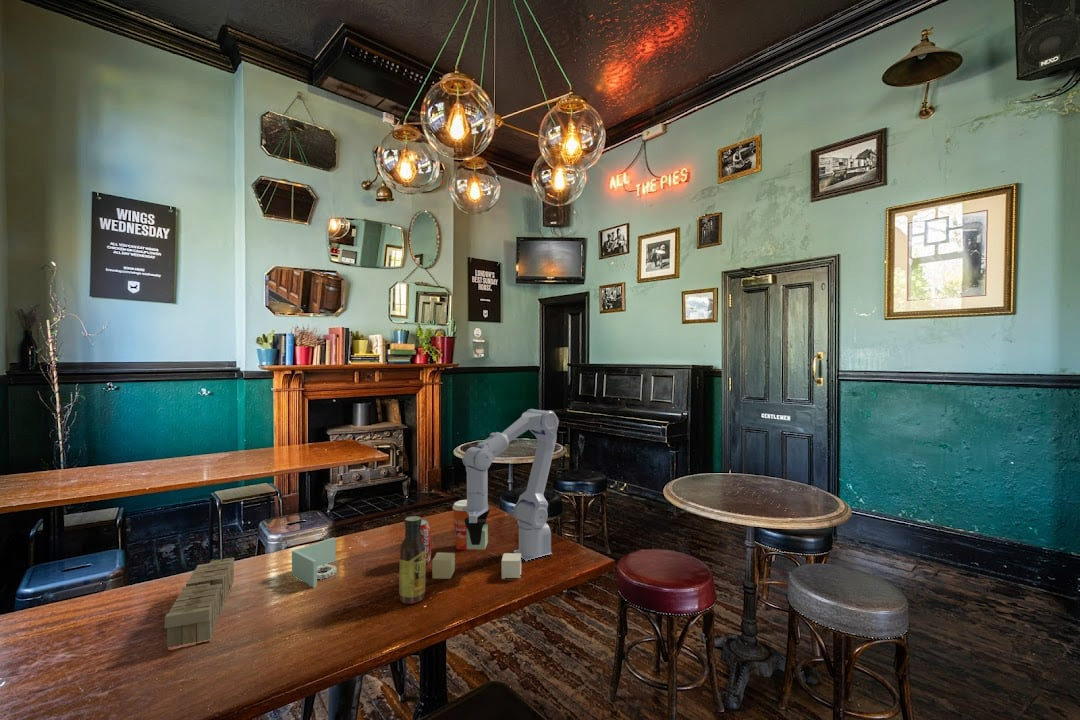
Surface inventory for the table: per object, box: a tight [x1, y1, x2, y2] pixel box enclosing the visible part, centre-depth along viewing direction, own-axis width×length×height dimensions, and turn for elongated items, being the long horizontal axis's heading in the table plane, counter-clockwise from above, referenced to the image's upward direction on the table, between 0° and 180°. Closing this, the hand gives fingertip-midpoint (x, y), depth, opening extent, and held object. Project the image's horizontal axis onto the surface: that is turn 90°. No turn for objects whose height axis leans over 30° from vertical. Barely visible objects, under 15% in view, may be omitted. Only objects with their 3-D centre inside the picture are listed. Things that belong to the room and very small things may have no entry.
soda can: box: [421, 518, 432, 564], centre depth 136 cm, size 7×7×12 cm
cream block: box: [501, 552, 522, 580], centre depth 128 cm, size 5×5×5 cm
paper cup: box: [452, 499, 470, 551], centre depth 147 cm, size 8×8×14 cm
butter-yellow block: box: [431, 552, 456, 580], centre depth 128 cm, size 5×5×5 cm
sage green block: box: [467, 523, 489, 550], centre depth 128 cm, size 5×5×5 cm
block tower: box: [164, 557, 235, 648], centre depth 108 cm, size 8×8×29 cm
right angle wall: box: [291, 537, 338, 588], centre depth 129 cm, size 12×12×8 cm
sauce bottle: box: [398, 515, 427, 605], centre depth 115 cm, size 7×6×20 cm
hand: (477, 540), depth 128 cm, fingers closed on sage green block, 5 cm apart
